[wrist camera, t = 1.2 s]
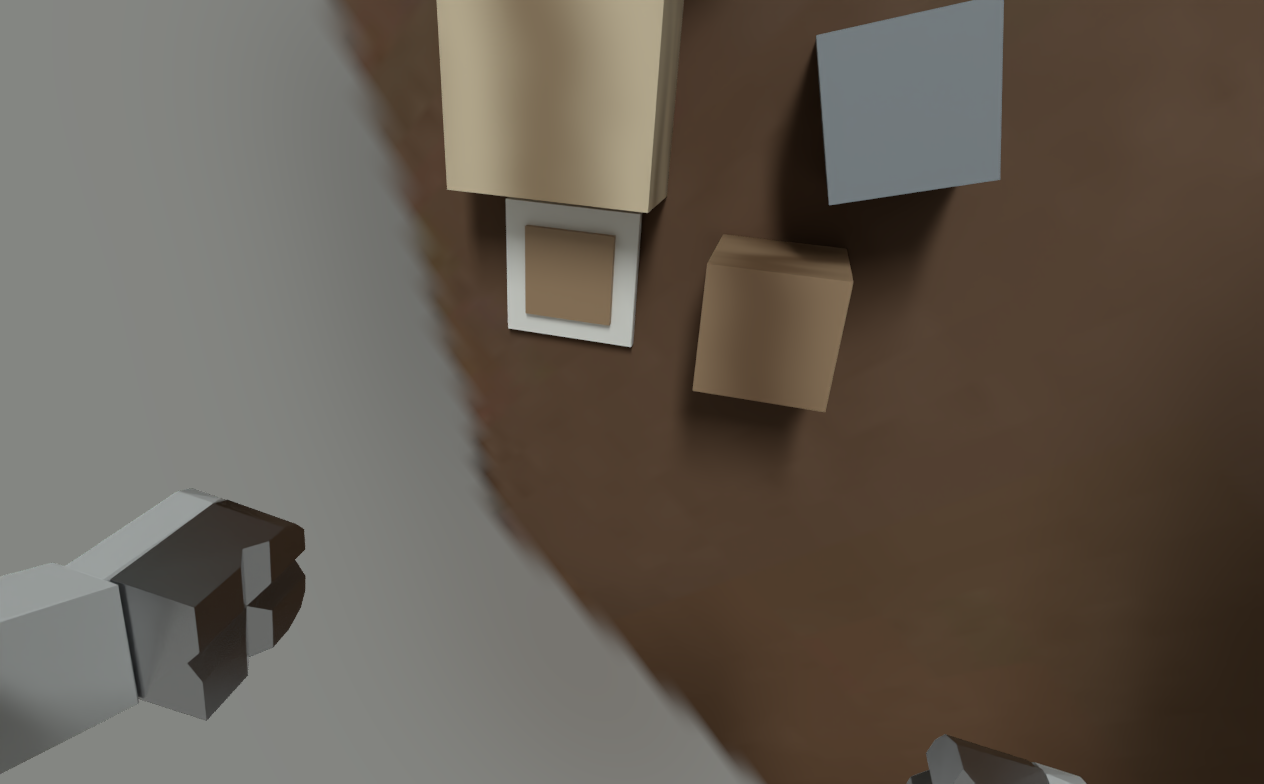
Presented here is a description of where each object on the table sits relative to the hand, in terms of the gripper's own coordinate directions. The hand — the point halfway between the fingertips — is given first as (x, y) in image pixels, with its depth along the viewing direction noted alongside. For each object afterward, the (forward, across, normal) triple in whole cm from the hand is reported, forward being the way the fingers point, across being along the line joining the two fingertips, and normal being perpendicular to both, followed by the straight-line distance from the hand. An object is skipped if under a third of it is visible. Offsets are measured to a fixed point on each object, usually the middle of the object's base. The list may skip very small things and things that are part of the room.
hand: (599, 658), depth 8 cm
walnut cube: (+22, -2, +1) cm, 23 cm away
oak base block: (+23, +8, -5) cm, 25 cm away
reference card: (+23, +6, +3) cm, 24 cm away
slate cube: (+22, -4, -7) cm, 24 cm away
